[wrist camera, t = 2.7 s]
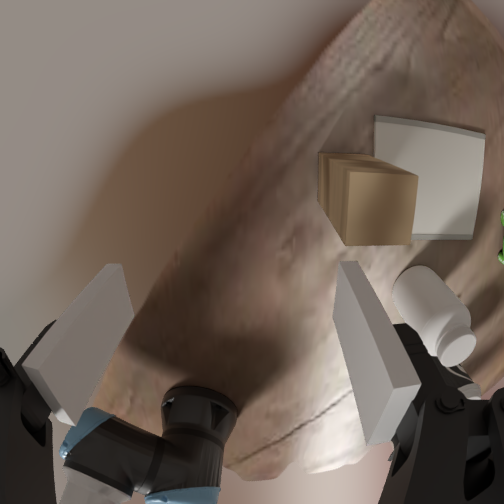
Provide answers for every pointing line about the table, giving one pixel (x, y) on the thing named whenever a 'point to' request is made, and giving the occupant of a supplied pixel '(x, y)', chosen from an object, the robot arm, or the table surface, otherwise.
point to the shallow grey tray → (436, 173)
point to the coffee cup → (458, 380)
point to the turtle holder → (503, 256)
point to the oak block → (367, 199)
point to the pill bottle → (434, 314)
